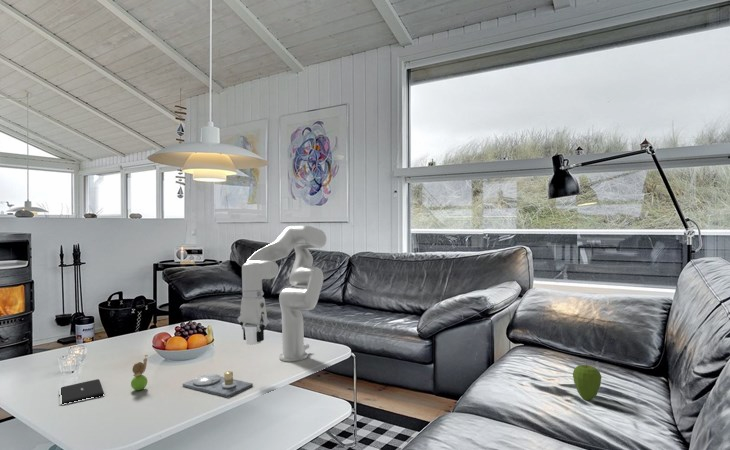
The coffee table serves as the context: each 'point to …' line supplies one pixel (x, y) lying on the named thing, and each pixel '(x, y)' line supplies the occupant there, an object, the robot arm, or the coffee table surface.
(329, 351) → the coffee table surface
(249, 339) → the shot glass
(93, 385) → the laptop
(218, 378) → the flange plate
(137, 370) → the snail figurine
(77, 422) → the coffee table surface
